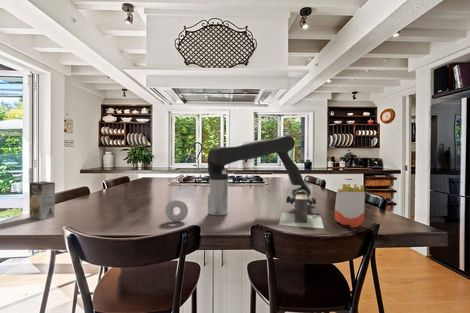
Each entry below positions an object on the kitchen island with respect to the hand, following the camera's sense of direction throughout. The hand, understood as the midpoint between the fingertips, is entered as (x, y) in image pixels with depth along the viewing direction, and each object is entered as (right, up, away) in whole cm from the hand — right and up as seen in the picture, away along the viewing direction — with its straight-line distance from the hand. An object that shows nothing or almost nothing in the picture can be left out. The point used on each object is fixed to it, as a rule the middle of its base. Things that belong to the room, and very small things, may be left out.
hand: (301, 202), depth 131 cm
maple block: (-2, -6, -7) cm, 9 cm away
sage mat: (-2, -7, -9) cm, 11 cm away
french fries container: (+17, -8, -13) cm, 23 cm away
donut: (-57, -7, -10) cm, 59 cm away
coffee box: (-120, -6, -5) cm, 120 cm away
